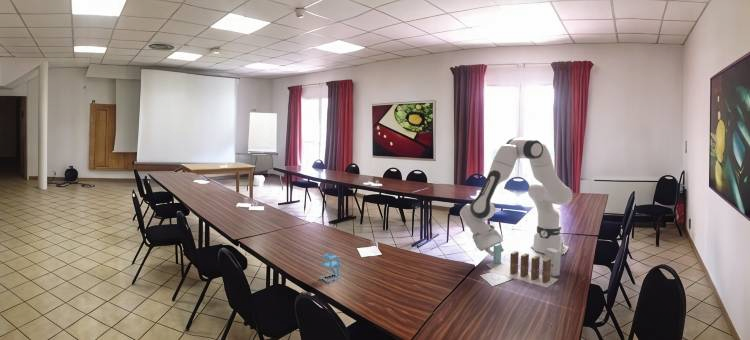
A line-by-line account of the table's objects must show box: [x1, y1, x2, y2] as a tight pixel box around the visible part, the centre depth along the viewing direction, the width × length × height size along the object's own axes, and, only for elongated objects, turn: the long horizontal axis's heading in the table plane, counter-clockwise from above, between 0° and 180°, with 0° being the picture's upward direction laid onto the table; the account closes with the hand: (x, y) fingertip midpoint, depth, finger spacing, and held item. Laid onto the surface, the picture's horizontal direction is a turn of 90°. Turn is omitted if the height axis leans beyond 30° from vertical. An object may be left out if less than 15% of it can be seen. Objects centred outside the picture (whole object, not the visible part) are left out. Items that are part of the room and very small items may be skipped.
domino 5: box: [541, 258, 551, 283], centre depth 166 cm, size 2×5×10 cm, turn 134°
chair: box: [319, 252, 342, 283], centre depth 173 cm, size 8×8×12 cm
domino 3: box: [520, 253, 530, 277], centre depth 173 cm, size 2×5×10 cm, turn 134°
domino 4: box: [530, 255, 541, 280], centre depth 170 cm, size 2×5×10 cm, turn 134°
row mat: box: [488, 264, 559, 288], centre depth 174 cm, size 13×28×1 cm, turn 44°
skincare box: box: [544, 248, 562, 277], centre depth 176 cm, size 6×4×12 cm
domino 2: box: [509, 250, 520, 275], centre depth 177 cm, size 2×5×10 cm, turn 134°
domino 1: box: [492, 243, 502, 265], centre depth 192 cm, size 2×5×10 cm, turn 134°
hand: (498, 253), depth 191 cm, fingers open, 8 cm apart
